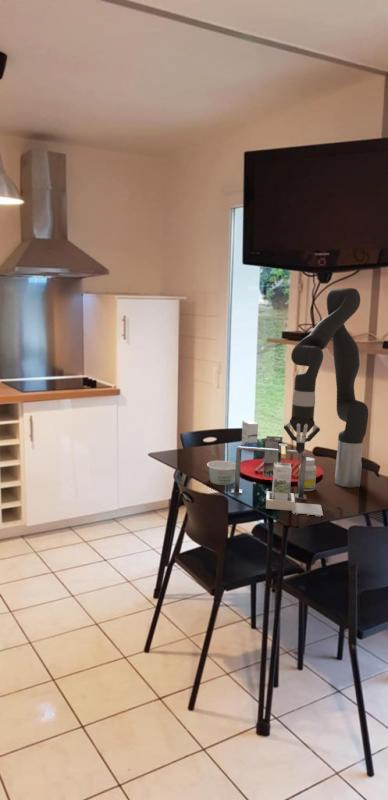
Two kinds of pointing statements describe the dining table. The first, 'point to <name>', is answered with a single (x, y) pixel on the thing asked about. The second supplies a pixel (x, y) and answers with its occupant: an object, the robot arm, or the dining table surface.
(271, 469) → the coffee box
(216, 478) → the food container
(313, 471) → the pill bottle
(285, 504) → the socket
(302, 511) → the pad
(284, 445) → the latch
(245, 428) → the ink box
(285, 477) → the syrup box
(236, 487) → the latch rail
